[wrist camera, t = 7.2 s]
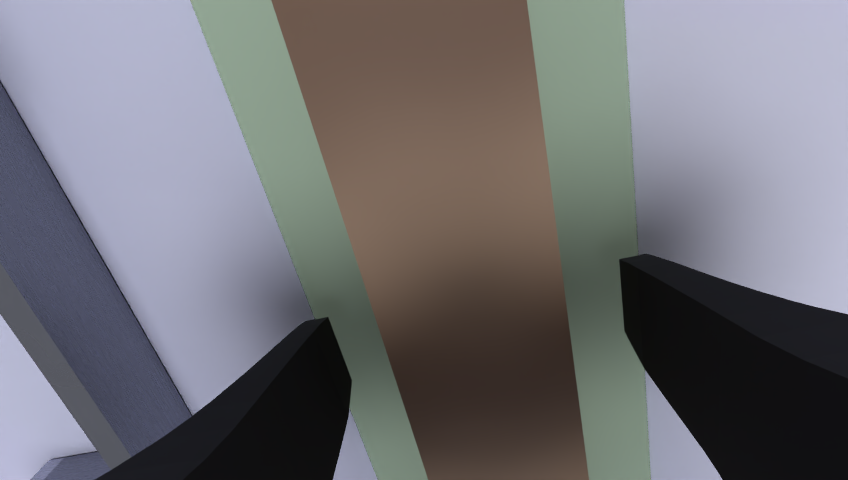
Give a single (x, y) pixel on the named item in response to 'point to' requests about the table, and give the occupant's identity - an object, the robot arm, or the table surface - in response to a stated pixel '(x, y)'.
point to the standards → (75, 316)
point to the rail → (449, 221)
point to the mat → (572, 198)
